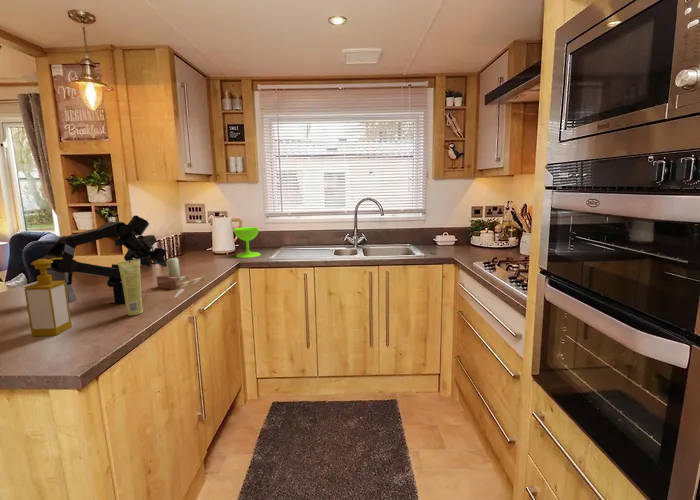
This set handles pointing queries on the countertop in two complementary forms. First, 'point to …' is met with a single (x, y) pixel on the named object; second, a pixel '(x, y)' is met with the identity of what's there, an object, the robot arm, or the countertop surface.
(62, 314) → the soap bottle
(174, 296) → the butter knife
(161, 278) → the brown piece
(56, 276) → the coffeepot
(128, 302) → the tube
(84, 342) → the countertop surface
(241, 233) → the wineglass
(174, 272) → the keeper post
